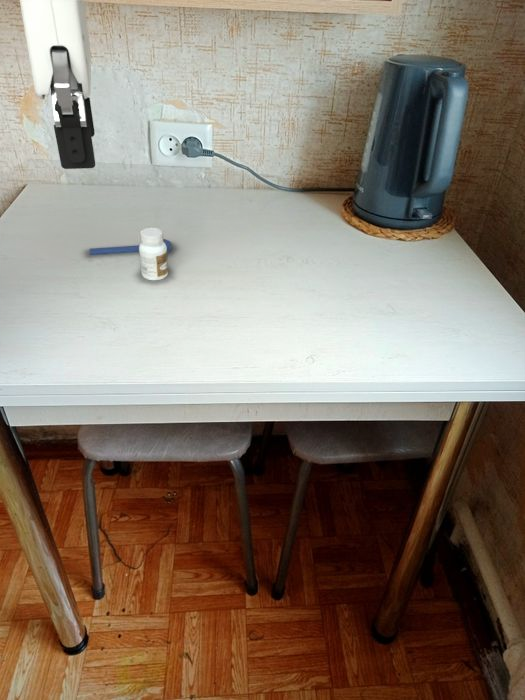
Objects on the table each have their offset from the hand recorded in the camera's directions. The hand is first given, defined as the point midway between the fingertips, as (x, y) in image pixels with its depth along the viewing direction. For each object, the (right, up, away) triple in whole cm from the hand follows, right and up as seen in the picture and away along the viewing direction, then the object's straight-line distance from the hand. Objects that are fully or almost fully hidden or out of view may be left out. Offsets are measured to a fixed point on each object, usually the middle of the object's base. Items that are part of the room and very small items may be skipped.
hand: (79, 150), depth 54 cm
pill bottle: (+1, -9, +31) cm, 33 cm away
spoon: (-4, -3, +37) cm, 37 cm away
